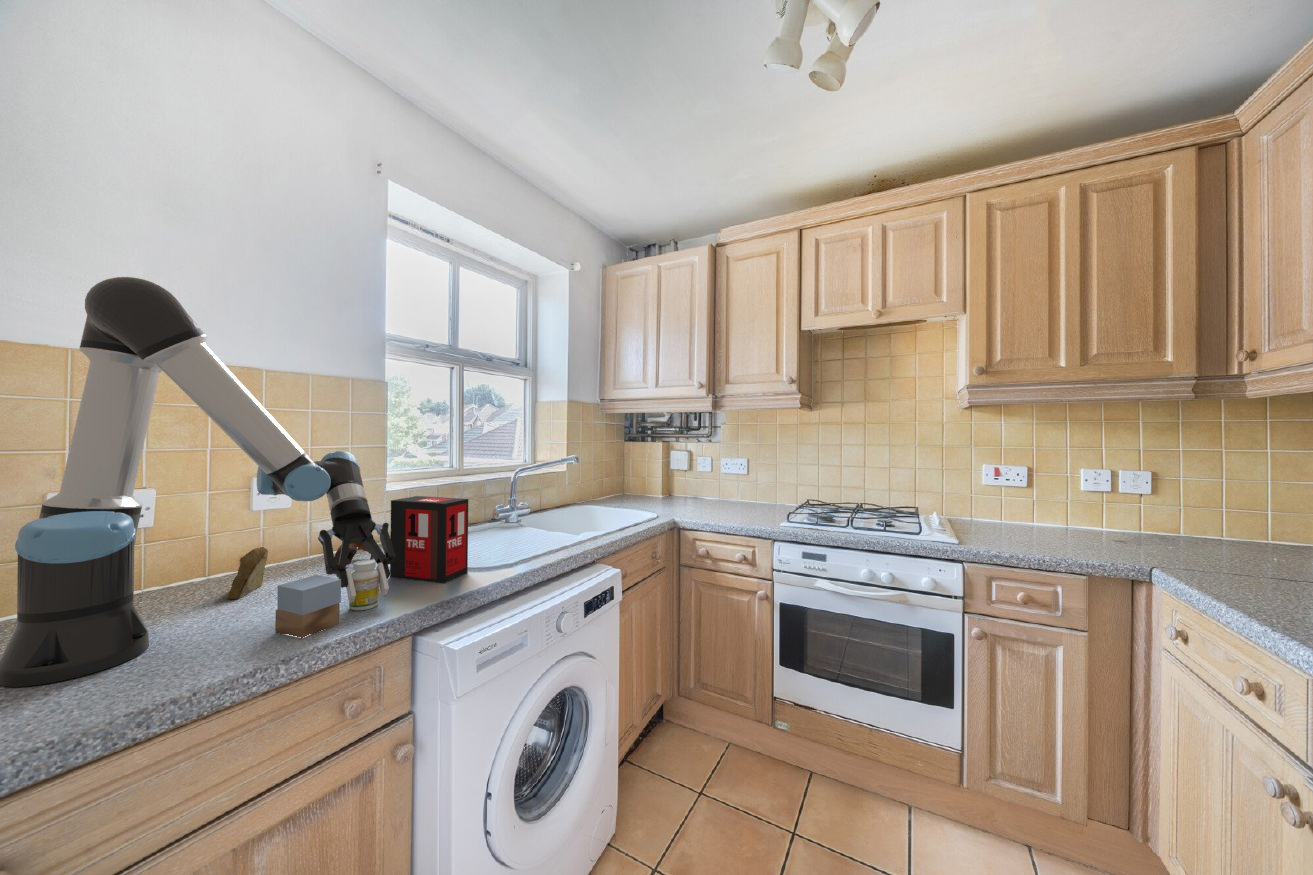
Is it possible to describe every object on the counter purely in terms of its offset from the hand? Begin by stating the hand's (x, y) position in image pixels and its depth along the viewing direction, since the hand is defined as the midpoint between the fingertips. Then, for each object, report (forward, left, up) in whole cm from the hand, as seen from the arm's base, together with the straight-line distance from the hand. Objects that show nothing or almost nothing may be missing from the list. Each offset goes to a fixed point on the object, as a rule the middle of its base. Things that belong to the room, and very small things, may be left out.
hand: (369, 595), depth 96 cm
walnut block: (-10, +3, -4) cm, 11 cm away
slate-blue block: (-10, +3, +1) cm, 11 cm away
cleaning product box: (+24, +7, -4) cm, 25 cm away
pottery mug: (+24, +35, -4) cm, 43 cm away
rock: (-1, +37, -4) cm, 38 cm away
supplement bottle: (+2, +3, -4) cm, 5 cm away
